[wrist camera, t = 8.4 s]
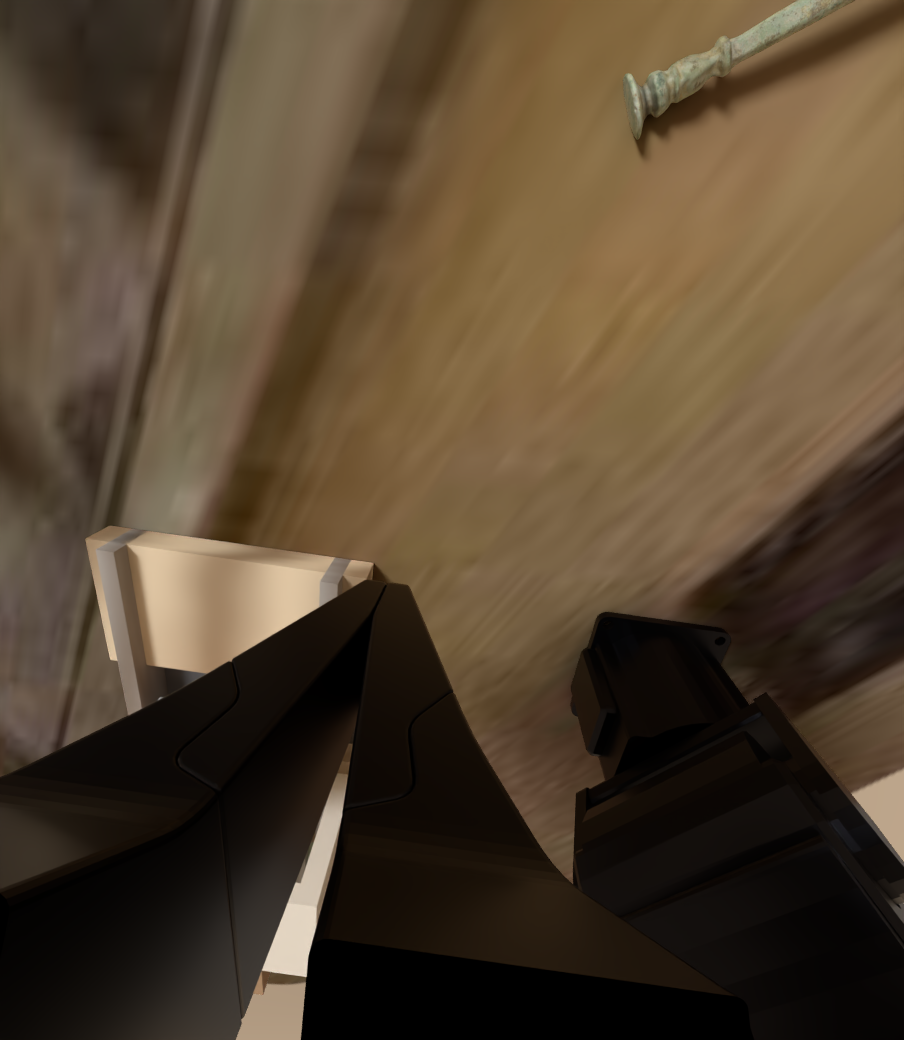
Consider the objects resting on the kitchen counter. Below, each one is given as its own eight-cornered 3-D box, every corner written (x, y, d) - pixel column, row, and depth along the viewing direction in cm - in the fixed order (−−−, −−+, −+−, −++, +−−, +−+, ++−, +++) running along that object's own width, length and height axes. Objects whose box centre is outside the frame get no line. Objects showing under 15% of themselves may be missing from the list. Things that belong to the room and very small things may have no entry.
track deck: (373, 563, 22) (362, 587, 20) (350, 887, 32) (341, 926, 30) (109, 525, 22) (70, 546, 20) (170, 861, 32) (148, 898, 30)
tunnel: (353, 775, 26) (316, 906, 20) (349, 842, 28) (315, 978, 22) (127, 743, 26) (23, 865, 20) (141, 813, 28) (52, 940, 22)
